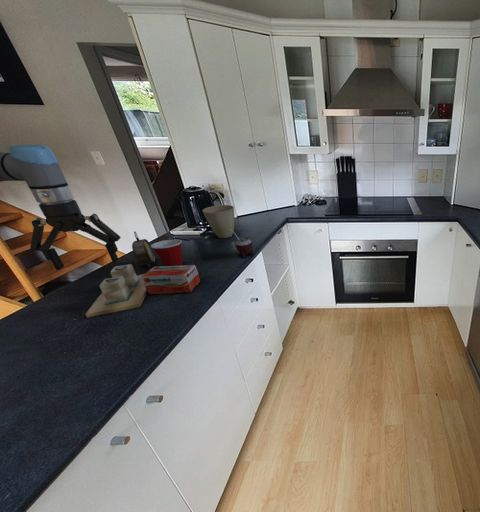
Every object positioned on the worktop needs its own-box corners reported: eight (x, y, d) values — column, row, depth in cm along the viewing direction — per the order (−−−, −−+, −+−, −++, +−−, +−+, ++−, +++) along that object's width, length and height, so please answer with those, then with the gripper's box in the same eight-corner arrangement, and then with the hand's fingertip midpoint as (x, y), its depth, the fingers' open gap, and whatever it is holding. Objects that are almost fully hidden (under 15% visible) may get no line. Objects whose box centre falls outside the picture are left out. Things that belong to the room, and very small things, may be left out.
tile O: (117, 288, 102) (109, 271, 99) (122, 282, 106) (114, 265, 103) (134, 285, 104) (127, 269, 101) (138, 279, 108) (131, 263, 105)
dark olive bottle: (154, 268, 119) (140, 234, 112) (139, 271, 117) (123, 237, 109) (157, 259, 127) (144, 226, 120) (142, 261, 125) (128, 228, 118)
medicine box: (201, 281, 111) (195, 264, 107) (191, 292, 103) (185, 274, 100) (160, 283, 109) (153, 266, 105) (147, 295, 101) (139, 276, 98)
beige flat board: (87, 317, 90) (84, 313, 89) (113, 282, 109) (111, 279, 108) (140, 306, 95) (138, 303, 94) (156, 275, 114) (154, 271, 114)
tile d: (108, 302, 94) (98, 285, 91) (113, 295, 98) (104, 278, 95) (126, 299, 96) (118, 282, 93) (130, 292, 100) (122, 275, 97)
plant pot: (245, 232, 158) (239, 206, 151) (225, 242, 146) (217, 213, 139) (225, 229, 162) (218, 203, 155) (203, 238, 150) (195, 210, 143)
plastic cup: (193, 260, 127) (185, 236, 121) (184, 271, 117) (175, 246, 112) (166, 262, 124) (157, 238, 119) (155, 274, 115) (144, 248, 110)
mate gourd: (256, 252, 136) (250, 223, 129) (249, 259, 129) (242, 229, 122) (242, 251, 136) (235, 223, 129) (233, 258, 129) (226, 229, 122)
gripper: (-16, 208, 72) (28, 277, 82) (107, 200, 83) (133, 262, 92) (3, 201, 78) (42, 266, 88) (116, 195, 88) (139, 253, 98)
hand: (89, 264), depth 90 cm, fingers open, 13 cm apart
